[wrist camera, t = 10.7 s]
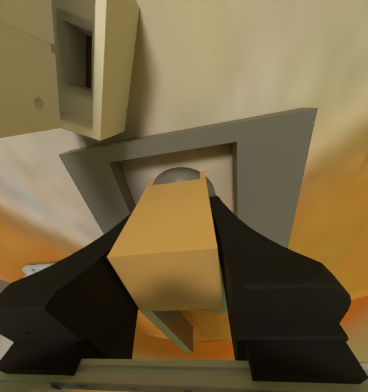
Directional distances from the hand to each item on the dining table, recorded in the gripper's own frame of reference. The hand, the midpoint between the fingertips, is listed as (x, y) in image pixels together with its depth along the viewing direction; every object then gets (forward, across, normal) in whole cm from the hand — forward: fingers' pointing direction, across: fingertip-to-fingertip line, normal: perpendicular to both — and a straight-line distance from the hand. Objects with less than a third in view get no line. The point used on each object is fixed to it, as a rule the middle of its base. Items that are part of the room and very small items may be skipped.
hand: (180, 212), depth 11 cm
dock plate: (+2, -1, +2) cm, 3 cm away
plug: (+2, 0, 0) cm, 2 cm away
